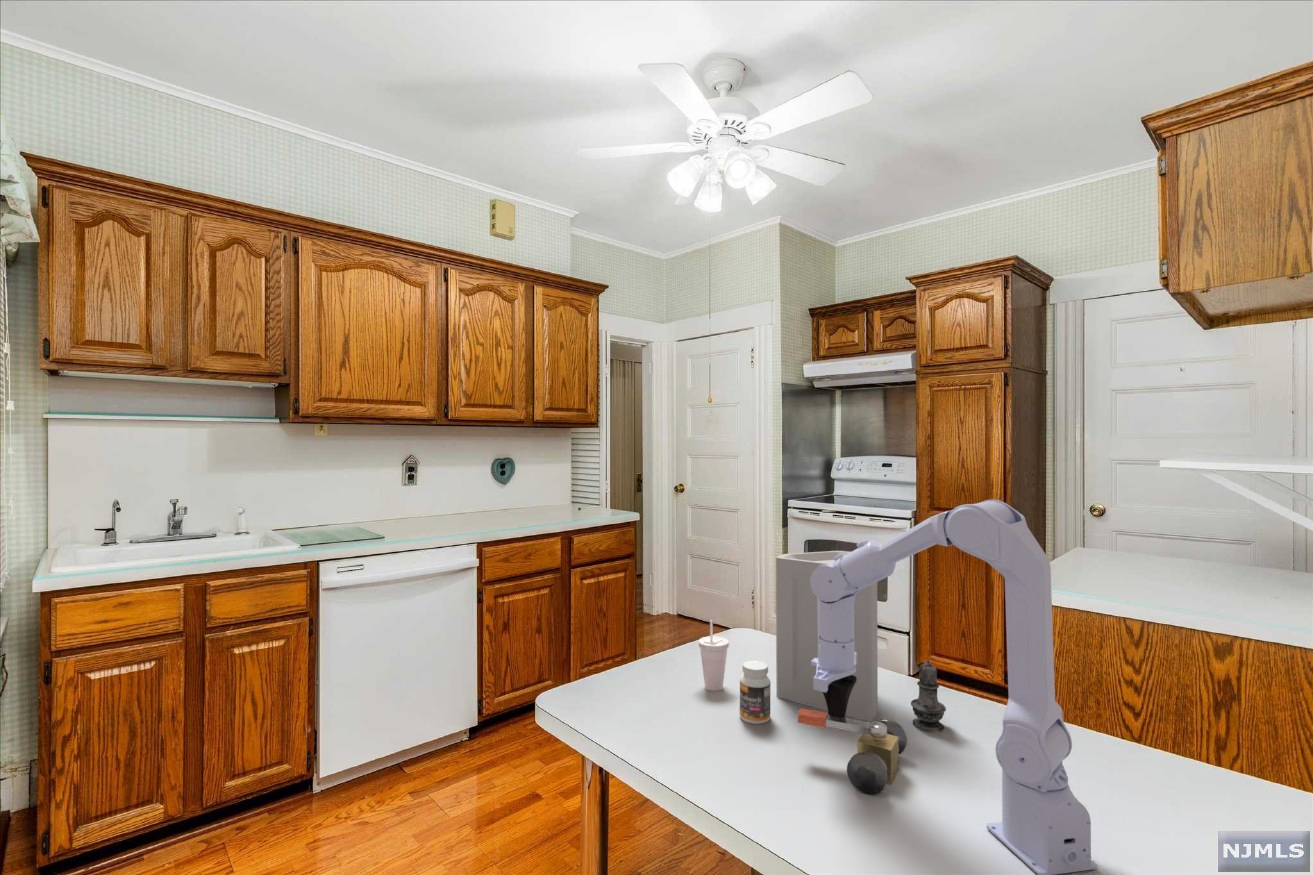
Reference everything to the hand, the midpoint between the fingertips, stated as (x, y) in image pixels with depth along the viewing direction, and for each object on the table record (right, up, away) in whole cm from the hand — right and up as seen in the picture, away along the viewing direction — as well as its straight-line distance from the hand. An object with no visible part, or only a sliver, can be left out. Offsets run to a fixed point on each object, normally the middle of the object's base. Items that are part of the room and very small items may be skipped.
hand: (836, 720), depth 100 cm
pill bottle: (-11, -6, +15) cm, 19 cm away
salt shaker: (+20, -6, +12) cm, 24 cm away
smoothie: (-17, -6, +29) cm, 34 cm away
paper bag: (+7, -6, +25) cm, 26 cm away
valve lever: (0, 0, -2) cm, 2 cm away
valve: (+5, -6, -4) cm, 9 cm away
